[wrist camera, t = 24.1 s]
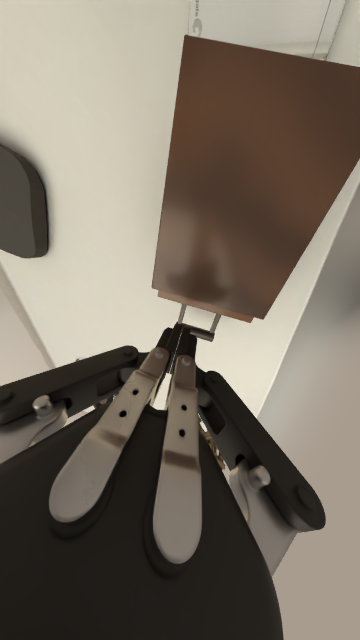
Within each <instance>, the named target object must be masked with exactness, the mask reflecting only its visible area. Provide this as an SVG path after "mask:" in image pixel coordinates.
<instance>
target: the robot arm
mask: <svg viewBox="0 0 360 640" xmlns="http://www.w3.org/2000/svg"><path fill="white" fill-rule="evenodd" d="M182 328H183V330H182ZM181 331H182V333H181ZM190 332H191V328H188V327H185V326H184V327H183V326H181V325H178V324H175V326H174V328H173V329H172V328H169V327H168V328H167V329H165V330H164V332H163V334H162V336H161V338H160V340H159V342H158V344H157V346H156V348H154V349H152V350H151V351H150V352H147V353H141V352H138V350H137V348H135V347H133V346H123V347H120V348H117V349H114V350H111V351H107V352H104V353H101V354H98V355H95V356H92V357H89V358H86V359H83V360H80V361H77V362H74V363H70V364H67V365H64V366H61V367H58V368H55V369H52V370H49V371H46V372H43V373H40V374H36V375H34V376H30V377H27V378H24V379H21V380H18V381H15V382H12V383H9V384H6V385H3V386H0V640H283V630H282V621H281V614H280V608H279V603H278V599H277V595H276V591H275V587H274V584H273V580H272V576H273V574H274V573H275V571H276V569H277V567H278V566H279V564H280V562H281V560H282V558H283V557H284V555H285V553H286V551H287V550H288V548H289V546H290V544H291V543H292V541H293V539H294V537H295V536H296V534H297V533H301V532H307V531H313V530H320V529H322V528H323V527H324V526H325V521H326V519H325V512H324V509H323V506H322V504H321V502H320V499H319V498H318V496H317V494H316V493H315V491H314V490H313V488H312V487H311V486H310V484H309V483H308V482H307V481H306V480H305V478H304V477H303V476H302V475H301V474H300V472H299V471H298V470H297V468H296V467H295V466H294V465H293V463H292V462H291V461H290V460H289V458H288V457H287V456H286V455H285V453H284V452H283V451H282V450H281V449H280V447H279V446H278V445H277V444H276V442H275V441H274V440H273V439H272V437H271V436H270V435H269V434H268V432H267V431H266V430H265V429H264V428H263V426H262V425H261V424H260V423H259V421H258V420H257V419H256V418H255V416H254V415H253V414H252V413H251V411H250V410H249V409H248V408H247V406H246V405H245V404H244V403H243V401H242V400H241V399H240V398H239V397H238V395H237V394H236V393H235V392H234V390H233V389H232V388H231V387H230V385H229V384H228V383H227V382H226V380H225V379H224V378H223V377H222V376H221V375H220V374H219V373H217V372H215V371H208V372H204V371H203V370H201V369H200V368H198V366H197V365H196V363H195V353H196V345H197V338H196V336H195V335H193V334H190ZM180 335H181V336H180ZM179 338H180V340H179ZM178 342H179V343H178ZM177 345H178V346H177ZM176 348H177V350H176ZM175 352H176V353H175ZM174 355H175V357H174ZM173 358H174V360H173ZM172 362H173V364H172ZM171 365H172V367H171ZM170 368H171V371H170ZM169 371H170V374H172V377H171V380H170V384H169V389H168V394H167V399H166V404H165V409H164V410H156V409H155V408H153V407H152V406H153V403H154V401H155V399H156V396H157V394H158V392H159V389H160V387H161V385H162V382H163V379H164V378H165V375H166V373H169ZM117 392H119V393H118V394H117V396H116V397H115V399H114V400H113V401H112V402H108V403H106V404H104V405H101V406H100V407H98V408H96V409H94V410H93V411H91V412H89V413H88V414H86V415H84V416H82V417H81V418H79V419H77V420H75V421H74V422H72V423H70V424H68V425H67V426H65V427H63V426H64V425H65V423H66V421H67V419H68V418H69V417H71V416H73V415H75V414H77V413H79V412H81V411H83V410H85V409H86V408H88V407H90V406H92V405H94V404H96V403H98V402H100V401H102V400H104V399H106V398H108V397H110V396H111V395H113V394H115V393H117ZM198 413H199V415H200V417H201V418H202V420H203V422H204V424H205V426H206V428H207V429H208V431H209V433H210V435H211V437H212V439H213V440H214V442H215V444H216V446H217V448H218V450H219V451H220V453H221V455H222V457H223V459H224V461H225V462H226V464H227V466H228V468H229V470H230V479H229V480H230V486H229V484H228V482H227V480H226V478H225V476H224V474H223V472H222V470H221V468H220V466H219V464H218V462H217V459H216V457H215V455H214V453H213V451H212V449H211V447H210V445H209V443H208V441H207V439H206V437H205V436H204V434H203V433H202V432H201V430H200V429H199V428H198ZM62 427H63V428H62ZM230 487H231V488H230Z"/></svg>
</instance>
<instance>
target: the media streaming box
mask: <svg viewBox="0 0 360 640" xmlns="http://www.w3.org/2000/svg"><path fill="white" fill-rule="evenodd" d="M0 249H1V250H3V251H6V252H8V253H11V254H13V255H16V256H19V257H22V258H36V257H42V256H43V255H44V254H45V253H46V251H47V223H46V208H45V197H44V190H43V186H42V183H41V181H40V178H39V176H38V175H37V173H36V171H35V170H34V168H33V167H32V166H31V164H30V163H29V162H28V161H27V160H26V159H25V158H23V157H22V156H20V155H18V154H16V153H15V152H13V151H11V150H9V149H8V148H6V147H4V146H2V145H0Z"/></svg>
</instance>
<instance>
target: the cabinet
mask: <svg viewBox="0 0 360 640" xmlns="http://www.w3.org/2000/svg"><path fill="white" fill-rule="evenodd" d="M359 159H360V67H355V66H350V65H344V64H339V63H334V62H328V61H323V60H318V59H312V58H307V57H302V56H296V55H291V54H286V53H281V52H275V51H270V50H265V49H259V48H254V47H249V46H243V45H238V44H233V43H227V42H222V41H217V40H211V39H206V38H201V37H195V36H190V35H185V36H184V43H183V51H182V59H181V66H180V74H179V82H178V89H177V97H176V105H175V112H174V120H173V128H172V135H171V143H170V151H169V158H168V166H167V174H166V181H165V189H164V197H163V204H162V212H161V220H160V227H159V235H158V243H157V250H156V258H155V266H154V273H153V281H152V288H154V289H157V290H161V291H164V292H168V293H171V294H175V295H178V296H182V297H185V298H189V299H192V300H196V301H199V302H203V303H206V304H210V305H213V306H217V307H221V308H224V309H228V310H231V311H235V312H238V313H242V314H245V315H249V316H252V317H256V318H259V319H264V318H265V316H266V314H267V313H268V311H269V309H270V308H271V306H272V304H273V303H274V301H275V299H276V298H277V296H278V294H279V293H280V291H281V289H282V288H283V286H284V284H285V283H286V281H287V279H288V278H289V276H290V274H291V273H292V271H293V269H294V268H295V266H296V264H297V263H298V261H299V259H300V257H301V256H302V254H303V252H304V251H305V249H306V247H307V246H308V244H309V242H310V241H311V239H312V237H313V236H314V234H315V232H316V231H317V229H318V227H319V226H320V224H321V222H322V221H323V219H324V217H325V216H326V214H327V212H328V211H329V209H330V207H331V206H332V204H333V202H334V201H335V199H336V197H337V196H338V194H339V192H340V191H341V189H342V187H343V186H344V184H345V182H346V181H347V179H348V177H349V176H350V174H351V172H352V171H353V169H354V167H355V166H356V164H357V162H358V161H359Z"/></svg>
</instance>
